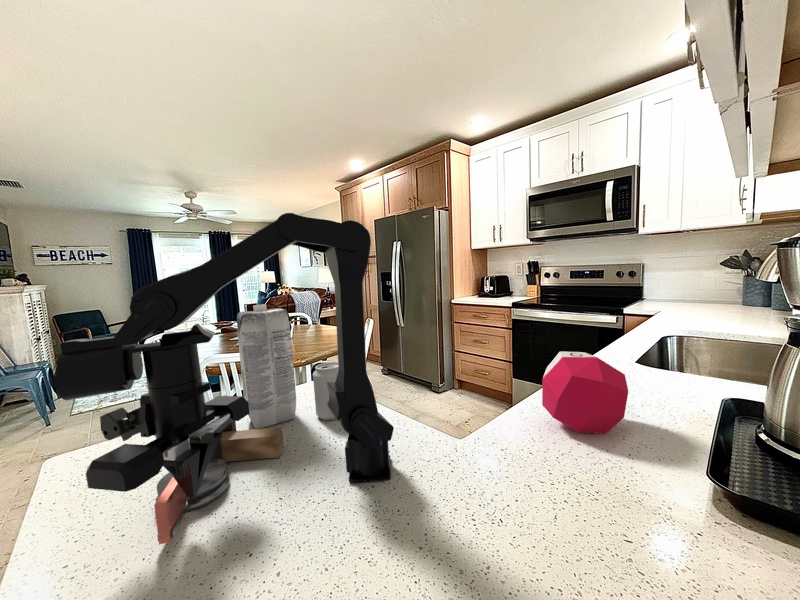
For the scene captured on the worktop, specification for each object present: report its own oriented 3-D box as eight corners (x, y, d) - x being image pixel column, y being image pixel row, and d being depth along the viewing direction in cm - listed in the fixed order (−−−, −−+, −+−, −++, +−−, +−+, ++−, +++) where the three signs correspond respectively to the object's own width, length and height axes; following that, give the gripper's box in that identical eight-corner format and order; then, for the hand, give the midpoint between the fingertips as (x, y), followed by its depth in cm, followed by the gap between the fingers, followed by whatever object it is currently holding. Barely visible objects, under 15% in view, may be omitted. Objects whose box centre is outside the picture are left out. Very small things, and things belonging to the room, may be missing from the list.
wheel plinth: (240, 472, 56) (239, 466, 56) (210, 512, 46) (209, 505, 46) (182, 477, 55) (181, 471, 55) (139, 518, 46) (138, 511, 46)
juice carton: (300, 419, 76) (290, 302, 74) (251, 433, 70) (239, 307, 68) (289, 407, 83) (280, 301, 82) (244, 420, 78) (233, 306, 76)
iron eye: (238, 447, 64) (234, 412, 64) (218, 469, 57) (214, 430, 57) (222, 448, 64) (218, 413, 64) (201, 471, 57) (196, 431, 56)
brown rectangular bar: (283, 447, 63) (282, 427, 63) (277, 457, 59) (275, 435, 59) (211, 453, 62) (209, 433, 62) (201, 463, 59) (199, 442, 59)
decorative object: (565, 365, 55) (548, 330, 69) (535, 434, 61) (525, 389, 75) (660, 392, 53) (623, 350, 67) (621, 461, 58) (594, 409, 72)
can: (335, 406, 83) (331, 359, 82) (355, 412, 78) (351, 362, 77) (309, 417, 77) (305, 366, 76) (330, 424, 72) (325, 370, 71)
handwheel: (206, 532, 41) (202, 494, 41) (120, 554, 38) (114, 513, 38) (232, 465, 56) (229, 436, 56) (171, 477, 54) (168, 447, 53)
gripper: (185, 361, 53) (198, 453, 54) (36, 411, 35) (61, 547, 36) (245, 360, 51) (257, 456, 52) (117, 413, 32) (141, 559, 34)
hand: (192, 495), depth 44 cm, fingers closed
